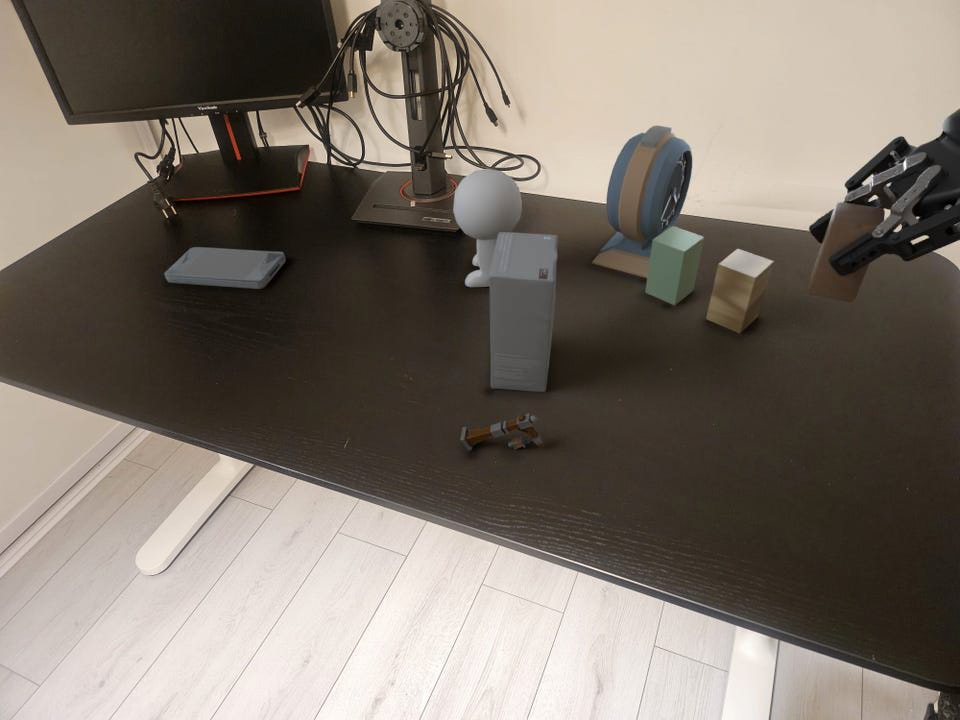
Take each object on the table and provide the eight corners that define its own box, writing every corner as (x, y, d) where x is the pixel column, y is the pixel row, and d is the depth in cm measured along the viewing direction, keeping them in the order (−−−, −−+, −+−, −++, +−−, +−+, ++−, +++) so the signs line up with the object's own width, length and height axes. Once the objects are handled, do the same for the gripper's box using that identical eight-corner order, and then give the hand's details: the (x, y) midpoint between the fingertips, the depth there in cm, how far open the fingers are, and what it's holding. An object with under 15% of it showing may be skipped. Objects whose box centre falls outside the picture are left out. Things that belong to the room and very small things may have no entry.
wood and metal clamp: (551, 448, 61) (532, 419, 58) (480, 466, 64) (459, 438, 61) (551, 434, 62) (533, 405, 59) (482, 452, 65) (461, 425, 62)
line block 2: (757, 316, 76) (774, 261, 70) (739, 334, 73) (755, 278, 68) (724, 302, 78) (737, 248, 73) (705, 319, 76) (718, 264, 71)
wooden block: (853, 304, 57) (884, 228, 52) (806, 295, 58) (832, 220, 53) (856, 282, 59) (886, 206, 54) (811, 273, 61) (836, 199, 56)
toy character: (466, 254, 91) (458, 156, 81) (527, 257, 89) (526, 158, 79) (453, 289, 84) (442, 187, 74) (518, 293, 82) (516, 189, 73)
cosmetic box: (497, 344, 75) (491, 228, 64) (556, 346, 74) (559, 229, 63) (488, 392, 68) (480, 273, 58) (552, 396, 67) (555, 275, 57)
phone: (263, 289, 87) (260, 282, 86) (164, 282, 90) (160, 275, 89) (287, 259, 93) (285, 251, 92) (194, 253, 96) (191, 246, 95)
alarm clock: (655, 285, 82) (674, 157, 70) (588, 266, 86) (596, 143, 75) (691, 236, 91) (713, 115, 79) (628, 222, 95) (641, 105, 83)
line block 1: (693, 290, 81) (704, 236, 75) (674, 305, 78) (684, 251, 73) (664, 278, 83) (672, 225, 78) (644, 292, 81) (652, 239, 76)
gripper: (966, 53, 51) (779, 190, 60) (1076, 115, 40) (828, 271, 50) (1004, 115, 54) (820, 237, 63) (1115, 188, 43) (874, 322, 53)
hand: (824, 251), depth 56 cm, fingers closed on wooden block, 5 cm apart
